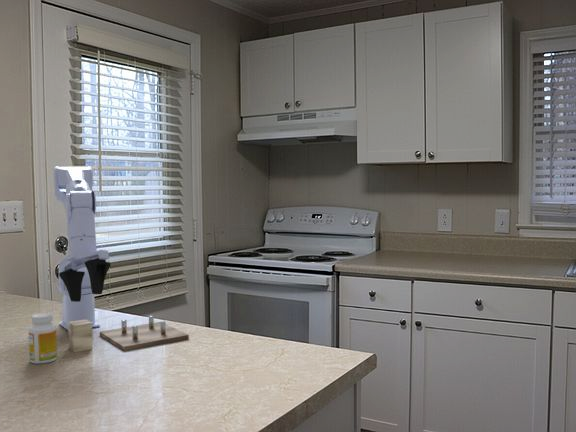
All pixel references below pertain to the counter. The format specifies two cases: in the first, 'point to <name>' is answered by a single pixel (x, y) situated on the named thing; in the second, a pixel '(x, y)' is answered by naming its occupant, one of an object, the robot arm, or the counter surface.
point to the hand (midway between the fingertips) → (86, 297)
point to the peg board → (143, 335)
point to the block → (80, 335)
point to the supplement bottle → (42, 339)
